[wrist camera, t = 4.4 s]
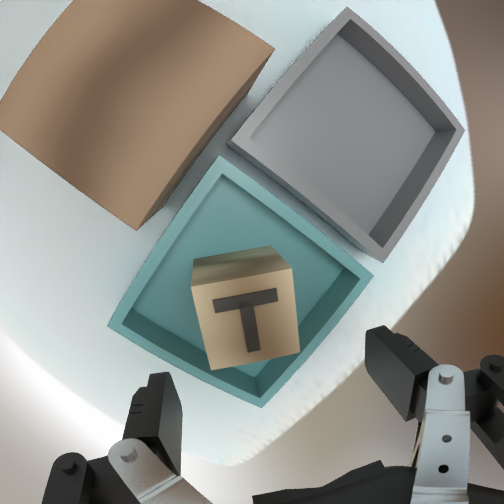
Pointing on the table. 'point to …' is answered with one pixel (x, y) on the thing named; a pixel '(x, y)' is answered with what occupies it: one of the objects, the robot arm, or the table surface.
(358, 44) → the gray bin
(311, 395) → the table surface
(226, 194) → the teal bin
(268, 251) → the letter cube
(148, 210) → the walnut stand
